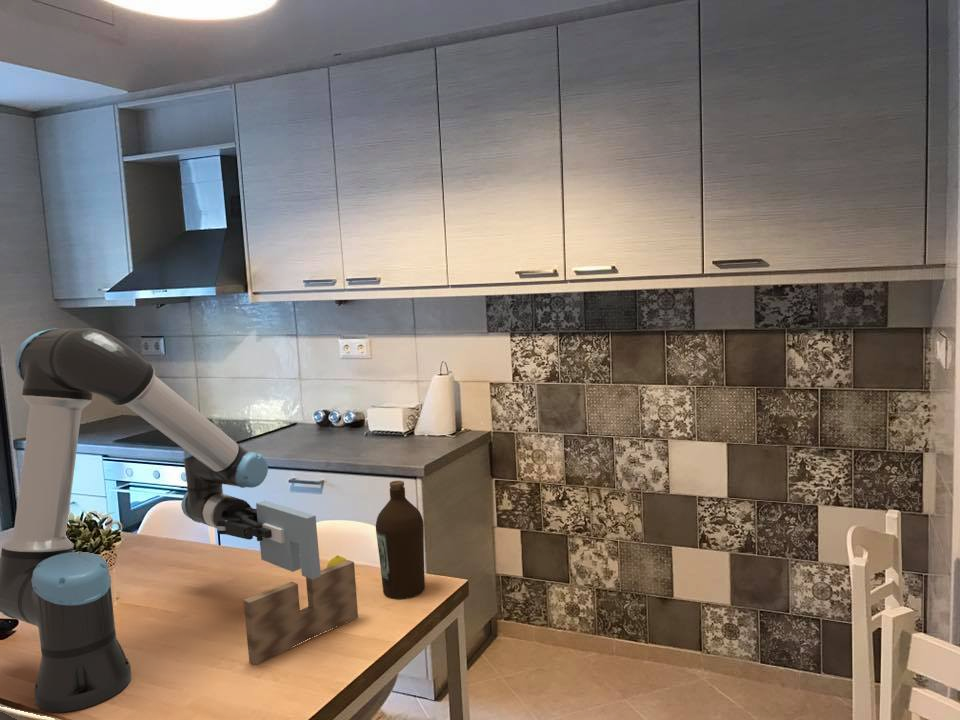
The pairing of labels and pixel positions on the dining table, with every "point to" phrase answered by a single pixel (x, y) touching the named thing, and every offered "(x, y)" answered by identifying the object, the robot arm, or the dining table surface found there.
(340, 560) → the lemon
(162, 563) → the dining table surface
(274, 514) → the slate slotted plate
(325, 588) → the walnut slotted board
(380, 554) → the dark brown bottle
